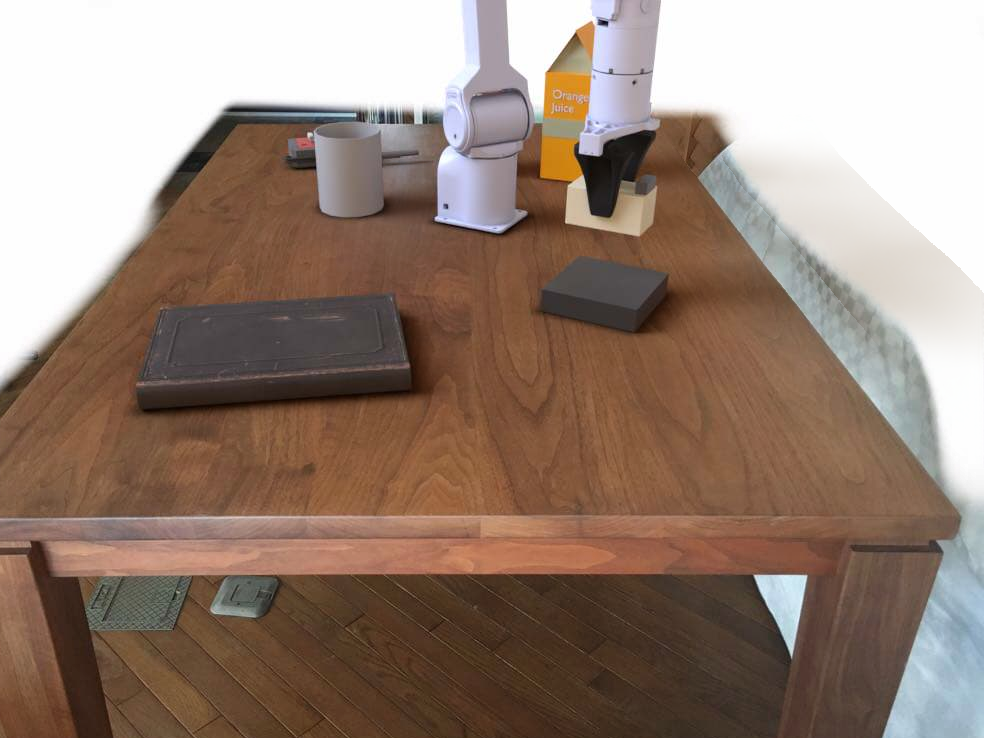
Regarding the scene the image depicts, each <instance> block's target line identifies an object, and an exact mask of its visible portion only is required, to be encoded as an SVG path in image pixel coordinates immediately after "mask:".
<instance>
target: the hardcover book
mask: <svg viewBox="0 0 984 738" xmlns="http://www.w3.org/2000/svg"><path fill="white" fill-rule="evenodd" d="M403 330H404V329H403V325H402V320H401V316H400V310H399V306H398V301H397V297H396V293H395V292H392V293H390V292H389V293H374V294H373V293H372V294H358V295H357V294H356V295H340V296H326V297H325V296H323V297H309V298H294V299H293V298H291V299H277V300H276V299H275V300H261V301H260V300H259V301H243V302H226V303H210V304H194V305H192V304H191V305H179V306H178V305H177V306H161V307H160V308H159V311H158V315H157V317H156V320H155V324H154V327H153V330H152V333H151V336H150V338H149V339H150V340H149V342H148V346H147V350H146V352H145V356H144V359H143V362H142V365H141V369H140V372H139V375H138V378H137V381H136V385H135V397H136V402H137V407H138V409H139V410H155V409H169V408H182V407H194V406H195V407H196V406H208V405H210V406H211V405H223V404H238V403H251V402H264V401H276V400H278V401H279V400H291V399H305V398H317V397H318V398H319V397H320V398H321V397H331V396H332V397H333V396H346V395H359V394H373V393H387V392H398V391H399V392H400V391H411V390H412V371H411V364H410V359H409V355H408V349H407V344H406V340H405V334H404V331H403Z"/></svg>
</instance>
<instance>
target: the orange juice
mask: <svg viewBox="0 0 984 738" xmlns="http://www.w3.org/2000/svg"><path fill="white" fill-rule="evenodd" d="M594 34H595V24H594V21H593V20H590V21H589V22H587V23H585V24H583V25H582V26H580V27H578V28H577V29H575V32H574V33H573V35H572V36H571V38H570V39H569V40H568V41H567V43H566V45H564V47H563V49H561V51H560V52H559V54H558V55H557V57H556V58H555V60H554V61H553V63H551V65H550V66H549V68H548V69H547V70H546V71H545V73H544V76H545V77H544V92H543V94H544V95H543V97H544V98H543V111H542V112H543V114H542V125H541V127H542V128H541V150H540V151H541V152H540V153H541V154H540V171H539V172H540V173H539V178H540V179H547V180H548V179H549V180H557V181H563V182H571V183H572V182H574V181H575V180H576V179H578V178H579V177H581V176H582V175H583V173H582V170H581V168H580V165H579V163H578V161H577V159H576V157H575V156H574V145H575V144H576V143H578V142H579V141H580V133H581V132H583V131H584V129H585V122H586V115H587V114H588V113H589V99H590V86H591V74H592V61H593V48H594Z"/></svg>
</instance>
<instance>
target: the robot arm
mask: <svg viewBox="0 0 984 738" xmlns="http://www.w3.org/2000/svg"><path fill="white" fill-rule="evenodd" d="M460 1H461V16H462V33H463V34H462V35H463V46H464V63H465V66H464V67H463V69H461V71H459V73H458V74H457V75H456V76H455V77H454V78H453V79H452V80H451V81H450V82H449V83H448V84H447V85H446V86H445V104H444V111H443V115H442V116H443V117H442V125H443V132H444V135H445V138H446V140H447V142H448V144H449V145H448V146H446V148H444V150H443V152H442V153H441V154H440V157H439V161H438V165H437V173H436V175H437V177H436V179H437V215H436V216H435V217H434V221H435V222H436V223H442V224H448V225H453V226H457V227H463V228H468V229H473V230H478V231H483V232H487V233H488V232H489V233H493V234H502V233H504V232H506V231H507V230H508V229H510V228H511V227H512V226H514V225H515V224H517V223H518V222H519V221H521V220H523V219H524V218H525V217H527V216H528V211H526V210H522V209H516V203H517V201H516V200H517V197H516V196H517V174H518V172H517V171H518V152H519V151H524V150H523V149H524V142H526V141H528V140H529V138H530V137H531V135H532V132H533V130H534V125H535V111H534V106H533V104H532V102H531V97H530V91H529V81H528V79H527V78H526V77H525V76H524V75H523V74H521V73H520V72H519V71H518V70H517V69H516V68H514V67H513V66H512V64H511V62H510V47H509V46H510V44H509V25H508V24H509V23H508V4H507V3H508V2H507V0H460ZM661 4H662V0H590V10H591V14H592V17H595V24H594V25H595V34H594V48H593V61H592V74H591V86H590V99H589V113H588V114H587V115H586V122H585V129H584V131H583V132H581V133H580V141H579V142H578V143H576V144H575V145H574V156H575V157H576V159H577V161H578V163H579V165H580V168H581V170H582V173H583V176H584V180H585V184H586V190H587V196H588V203H589V209H590V213H591V215H593V216H599V217H605V218H610V217H611V216H612V214H613V212H614V209H615V206H616V203H617V198H618V193H619V189H620V185H621V181H628V182H635V183H636V182H637V178H638V175H639V171H640V169H641V166H642V163H643V161H644V159H645V157H646V155H647V153H648V151H649V149H650V147H651V146H652V144H653V143H654V142H655V140H656V138H657V131H656V130H657V129H659V128H660V125H661V119H659V118H654V117H651V114H652V113H651V112H652V104H653V103H652V102H651V94H652V86H653V75H654V68H655V61H656V60H655V59H656V58H655V57H656V50H657V41H658V34H659V33H658V32H659V22H660V14H661V6H662V5H661ZM500 89H501V90H502V91H503V92H499V93H492V94H484V95H477V96H474V95H475V94H476V93H479V92H485V91H492V90H500Z"/></svg>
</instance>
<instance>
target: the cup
mask: <svg viewBox="0 0 984 738" xmlns="http://www.w3.org/2000/svg"><path fill="white" fill-rule="evenodd" d="M313 136H314V140H315V152H316V165H317V167H316V177H317V188H318V201H319V202H318V203H319V208H320V210H321V212H322V213H324V214H326V215H328V216H332V217H337V218H338V217H339V218H360V217H365V216H372V215H374V214H376V213H378V212H380V211H382V210H383V208H384V206H385V203H384V178H383V177H384V176H383V175H384V174H383V159H382V152H383V150H382V129H381V128H380V127H379V126H378V125H376V124H373V123H370V122H362V121H338V122H331V123H326V124H322V125H320V126H317V127H316V128H315V129H314V130H313Z"/></svg>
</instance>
